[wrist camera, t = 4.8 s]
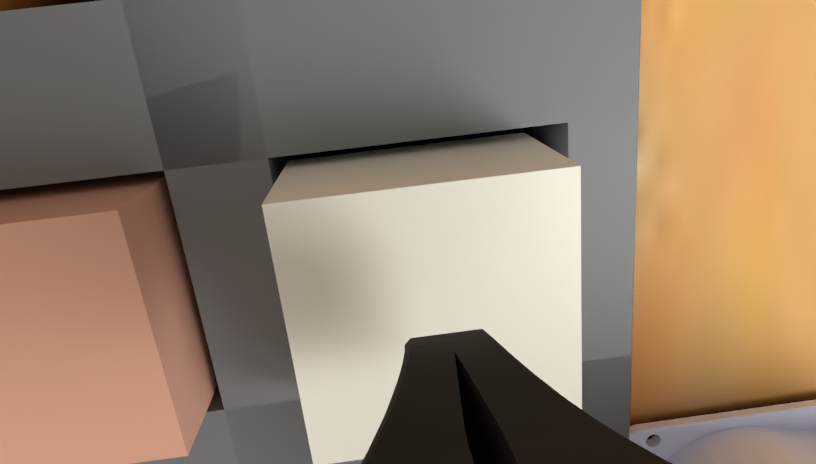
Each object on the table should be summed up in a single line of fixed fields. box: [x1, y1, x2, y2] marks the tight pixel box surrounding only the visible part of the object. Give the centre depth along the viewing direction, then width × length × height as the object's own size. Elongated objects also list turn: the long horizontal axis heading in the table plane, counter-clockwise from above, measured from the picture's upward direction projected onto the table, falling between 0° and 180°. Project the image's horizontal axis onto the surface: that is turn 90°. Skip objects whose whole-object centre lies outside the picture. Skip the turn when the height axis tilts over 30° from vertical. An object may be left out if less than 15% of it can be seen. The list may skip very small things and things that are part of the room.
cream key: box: [262, 132, 582, 464], centre depth 13 cm, size 6×6×4 cm
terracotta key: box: [0, 171, 218, 464], centre depth 14 cm, size 6×6×4 cm
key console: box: [0, 0, 641, 464], centre depth 16 cm, size 20×14×3 cm
